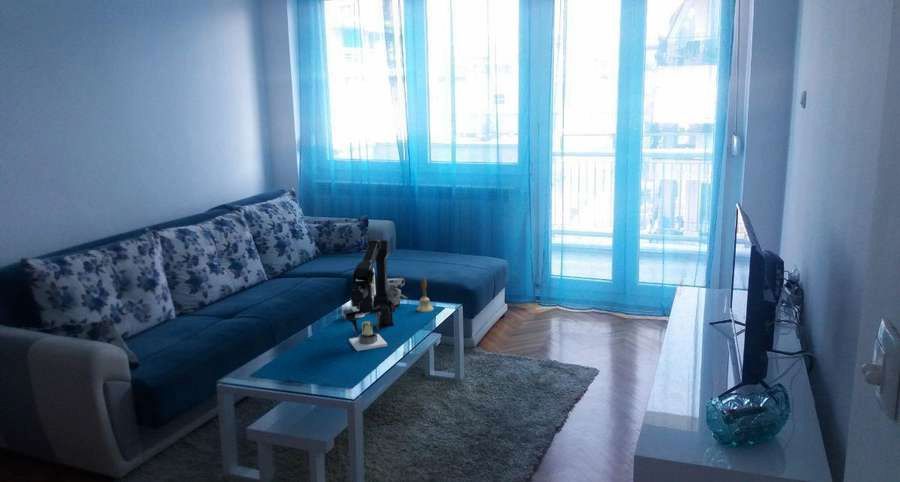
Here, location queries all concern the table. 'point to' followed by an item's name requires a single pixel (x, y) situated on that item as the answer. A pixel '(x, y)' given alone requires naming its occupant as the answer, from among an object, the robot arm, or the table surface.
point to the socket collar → (367, 339)
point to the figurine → (396, 290)
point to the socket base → (367, 346)
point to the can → (356, 310)
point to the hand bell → (424, 299)
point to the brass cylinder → (367, 329)
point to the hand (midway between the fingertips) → (367, 331)
